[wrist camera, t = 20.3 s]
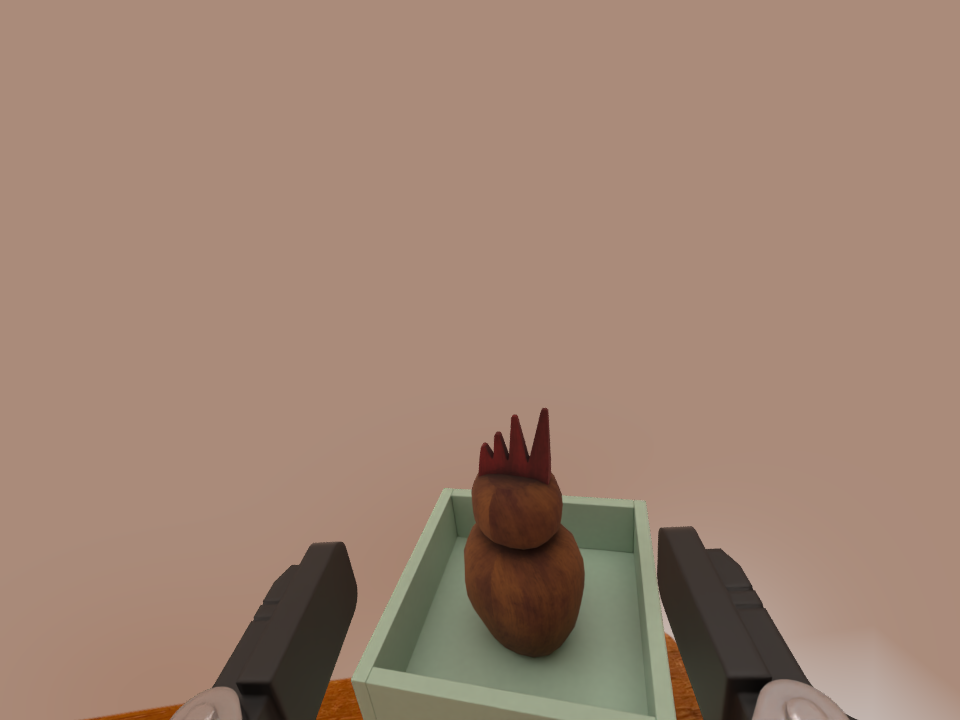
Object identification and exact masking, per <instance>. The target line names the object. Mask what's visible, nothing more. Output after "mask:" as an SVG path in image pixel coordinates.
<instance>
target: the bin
mask: <svg viewBox="0 0 960 720" xmlns="http://www.w3.org/2000/svg"><path fill="white" fill-rule="evenodd" d="M471 491H472V490H463V489H451V488H450V489H449V488H444V489H443V491H442V493H441V495H440V497H439V499H438V501H437V504H436V506H435V508H434V510H433V512H432V514H431V516H430V518H429V520H428V522H427V524H426V526H425V528H424V530H423V532H422V534H421V537H420V538H419V541H418V543H417V545H416V547H415V549H414V551H413V553H412V555H411V557H410V559H409V561H408V563H407V565H406V567H405V569H404V571H403V573H402V575H401V578H400V580H399V582H398V584H397V586H396V588H395V590H394V592H393V594H392V596H391V598H390V600H389V602H388V604H387V606H386V608H385V610H384V612H383V615H382V617H381V619H380V621H379V623H378V625H377V627H376V629H375V631H374V633H373V635H372V637H371V639H370V641H369V643H368V646H367V647H366V650H365V652H364V654H363V656H362V658H361V660H360V662H359V664H358V666H357V668H356V670H355V672H354V674H353V676H352V678H351V682H352V685H353V688H354V691H355V694H356V698H357V701H358V704H359V707H360V710H361V713H362V717H363V720H676V713H675V706H674V698H673V691H672V684H671V677H670V670H669V663H668V655H667V648H666V641H665V634H664V627H663V620H662V613H661V605H660V598H659V591H658V584H657V577H656V570H655V563H654V555H653V548H652V541H651V534H650V527H649V520H648V513H647V505H646V501H641V500H634V501H633V500H623V499H608V498H592V497H575V496H562V502H563V508H562V518H561V524H562V525H563V526H564V527H565V528H566V529H568V530H569V531H570V532H571V533H572V534H573V536H574V539H575V541H576V543H577V545H578V548H579V550H580V552H581V555H582V557H583V561H584V570H585V582H584V591H583V596H582V601H581V606H580V610H579V614H578V618H577V621H576V624H575V627H574V629H573V630H572V632H571V633H570V635H569V636H568V637H567V639H566V640H565V642H564V643H563V644H562V646H561V647H559V648H558V649H557V650H555V651H554V652H553V653H551V654H550V655H547V656H541V657H536V658H532V657H528V656H524V655H520V654H517V653H515V652H513V651H511V650H509V649H507V648H505V647H504V646H503V645H502V644H501V643H500V642H499V641H498V640H496V639H495V638H494V636H493V635H492V634H491V632H490V631H489V630H488V628H487V627H486V625H485V624H484V623H483V621H482V620H481V618H480V617H479V615H478V614H477V613H476V611H475V610H474V608H473V606H472V604H471V602H470V600H469V598H468V596H467V590H466V584H465V564H464V548H465V545H466V542H467V538H468V536H469V534H470V531H471V529H472V527H473V525H474V524H475V523H476V521H475V519H474V514H473V507H472V495H471Z"/></svg>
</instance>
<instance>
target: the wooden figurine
mask: <svg viewBox="0 0 960 720" xmlns="http://www.w3.org/2000/svg"><path fill="white" fill-rule="evenodd" d="M548 416H549V415H548V409H547V408H543V409H542V410H541V413H540V417H539V422H538V425H537V430H536V434H535V438H534V442H533V446H532V451H531V455H530V456H529V455H528V451H527V447H526V444H525V440H524V437H523V433H522V429H521V426H520V423H519V419H518V416H517V415H513V416H512V417H511V431H510V449H509V453H508V450H507V447H506V445H505V442H504V439H503V436H502V434H501V432H496V434H495V436H494V453H493V451H492V450H491V448H490V447H489V445H488V444H487V443H483V445H482V447H481V451H480V461H479V473H478V474H477V477H476V479H475V481H474V484H473V487H472V491H471V495H472V507H473V514H474V519H475V521H476V523H475V524H474V525H473V527H472V529H471V531H470V534H469V536H468V538H467V542H466V545H465V548H464V564H465V584H466V590H467V596H468V598H469V600H470V602H471V604H472V606H473V608H474V610H475V611H476V613H477V614H478V615H479V617H480V618H481V620H482V621H483V623H484V624H485V625H486V627H487V628H488V630H489V631H490V632H491V634H492V635H493V636H494V638H495V639H496V640H498V641H499V642H500V643H501V644H502V645H503V646H504V647H505V648H507V649H509V650H511V651H513V652H515V653H517V654H520V655H524V656H528V657H532V658H536V657H541V656H547V655H550V654H551V653H553V652H554V651H555V650H557V649H558V648H559V647H561V646H562V644H563V643H564V642H565V640H566V639H567V637H568V636H569V635H570V633H571V632H572V630H573V629H574V627H575V624H576V621H577V618H578V614H579V610H580V606H581V601H582V596H583V591H584V582H585V570H584V561H583V557H582V555H581V552H580V550H579V548H578V545H577V543H576V541H575V539H574V536H573V534H572V533H571V532H570V531H569V530H568V529H566V528H565V527H564V526H563V525H562V524H561V518H562V508H563V502H562V494H561V491H560V489H559V486H558V484H557V481H556V479H555V477H554V475H553V474H552V473H551V454H550V435H549V417H548Z"/></svg>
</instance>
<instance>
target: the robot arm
mask: <svg viewBox="0 0 960 720" xmlns="http://www.w3.org/2000/svg"><path fill="white" fill-rule="evenodd" d="M657 579H658V587H659V592H660V596H661V600H662V603H663V606H664V609H665V612H666V614H667V617H668V620H669V623H670V626H671V629H672V632H673V634H674V637H675V640H676V643H677V646H678V649H679V651H680V654H681V657H682V660H683V663H684V665H685V668H686V671H687V674H688V677H689V680H690V682H691V685H692V688H693V691H694V694H695V696H696V699H697V702H698V705H699V708H700V711H701V713H702V716H703V719H704V720H857V719H854V718H852V717H850V716H849V715H847V714H845V713H844V712H843V710H842V709H841V708H840V707H839V706H838V705H837V704H836V703H835V702H833V701H832V700H831V699H830V698H829V697H827V696H826V695H825V694H823V693H822V692H820V691H819V690H817V689H815V688H814V687H813V686H812V685H811V684H810V682H809V681H808V679H807V678H806V676H805V675H804V673H803V671H802V670H801V668H800V666H799V665H798V663H797V661H796V659H795V658H794V656H793V654H792V653H791V651H790V649H789V648H788V646H787V644H786V643H785V641H784V639H783V637H782V636H781V634H780V633H779V631H778V629H777V627H776V626H775V624H774V622H773V620H772V619H771V617H770V615H769V614H768V612H767V610H766V609H765V608H763V604H762V602H761V600H760V598H759V597H758V595H757V593H756V592H755V591H754V590H753V588H752V585H751V583H750V581H749V580H748V578H747V576H746V575H745V573H744V571H743V570H742V568H741V566H740V565H739V564H738V563H737V562H735V561H734V560H733V559H732V558H731V557H730V556H729V555H727V554H726V553H725V552H724V551H723V550H721V549H705V547H704V545H703V544H702V541H701V540H700V538H699V536H698V534H697V532H696V530H695V529H694V528H693V527H692V526H690V527H689V526H688V527H666V528H660V529H659V535H658V565H657ZM356 603H357V584H356V581H355V577H354V574H353V570H352V567H351V563H350V560H349V556H348V553H347V550H346V546H345V544H344V543H343V542H326V543H325V542H323V543H313V544H312V545H311V546H310V547H309V548H308V550H307V552H306V554H305V556H304V558H303V559H302V561H301V563H300V565H291V566H290V567H289V568H288V569H287V570H286V571H285V572H284V573H283V574H282V575H281V576H280V577H279V578H278V579H277V580H276V581H275V582H274V583H273V585H272V587H271V589H270V590H269V592H268V594H267V595H266V597H265V599H264V600H263V605H261V606H260V607H259V609H258V611H257V612H256V614H255V616H254V620H253V621H251V623H250V624H249V626H248V628H247V629H246V631H245V633H244V635H243V636H242V638H241V640H240V641H239V643H238V645H237V647H236V648H235V650H234V652H233V654H232V655H231V657H230V658H229V660H228V662H227V664H226V665H225V667H224V669H223V670H222V672H221V674H220V676H219V677H218V679H217V681H216V682H215V684H214V685H213V687H212V688H210V689H208V690H205V691H203V692H201V693H199V694H197V695H196V696H194V697H193V698H191V699H190V700H189V701H187V702H186V703H185V704H184V705H183V706H182V707H181V708H179V709H178V711H177V712H176V713H175V714H174V715H173V716H172V718H171V719H170V720H316V717H317V714H318V711H319V709H320V706H321V703H322V700H323V698H324V695H325V692H326V689H327V686H328V684H329V681H330V678H331V675H332V672H333V670H334V667H335V664H336V662H337V659H338V656H339V653H340V650H341V647H342V645H343V642H344V639H345V637H346V634H347V631H348V628H349V626H350V623H351V620H352V617H353V615H354V611H355V608H356Z"/></svg>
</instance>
